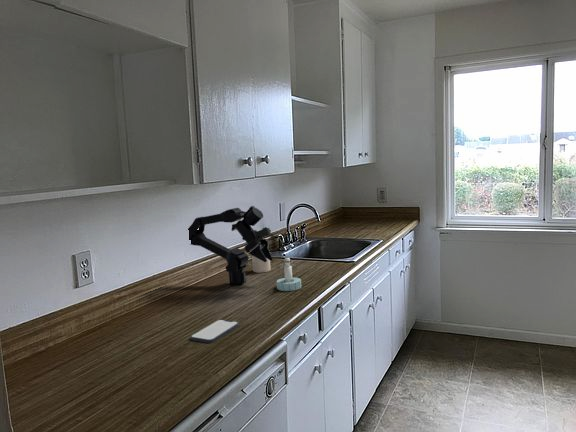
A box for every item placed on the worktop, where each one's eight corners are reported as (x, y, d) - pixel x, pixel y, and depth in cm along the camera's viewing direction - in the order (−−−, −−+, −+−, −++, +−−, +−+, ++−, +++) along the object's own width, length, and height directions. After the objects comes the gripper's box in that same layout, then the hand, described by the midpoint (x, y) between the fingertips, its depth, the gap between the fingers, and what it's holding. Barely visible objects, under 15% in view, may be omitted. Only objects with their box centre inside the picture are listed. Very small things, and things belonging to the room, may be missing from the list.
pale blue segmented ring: (274, 290, 196) (274, 283, 195) (280, 284, 205) (280, 277, 205) (298, 291, 193) (297, 283, 193) (303, 284, 203) (302, 277, 203)
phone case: (211, 345, 144) (241, 326, 158) (211, 340, 143) (240, 321, 157) (188, 341, 148) (219, 323, 162) (188, 336, 148) (218, 319, 162)
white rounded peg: (283, 287, 200) (281, 258, 198) (289, 286, 202) (287, 257, 200) (288, 289, 197) (286, 259, 196) (294, 287, 199) (292, 258, 198)
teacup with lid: (273, 268, 235) (272, 245, 234) (267, 273, 227) (266, 249, 225) (250, 268, 239) (249, 245, 237) (244, 272, 230) (242, 249, 228)
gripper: (254, 220, 195) (278, 250, 192) (266, 220, 213) (288, 248, 211) (234, 237, 197) (257, 267, 194) (248, 236, 215) (269, 263, 212)
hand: (269, 260), depth 203 cm, fingers open, 9 cm apart
